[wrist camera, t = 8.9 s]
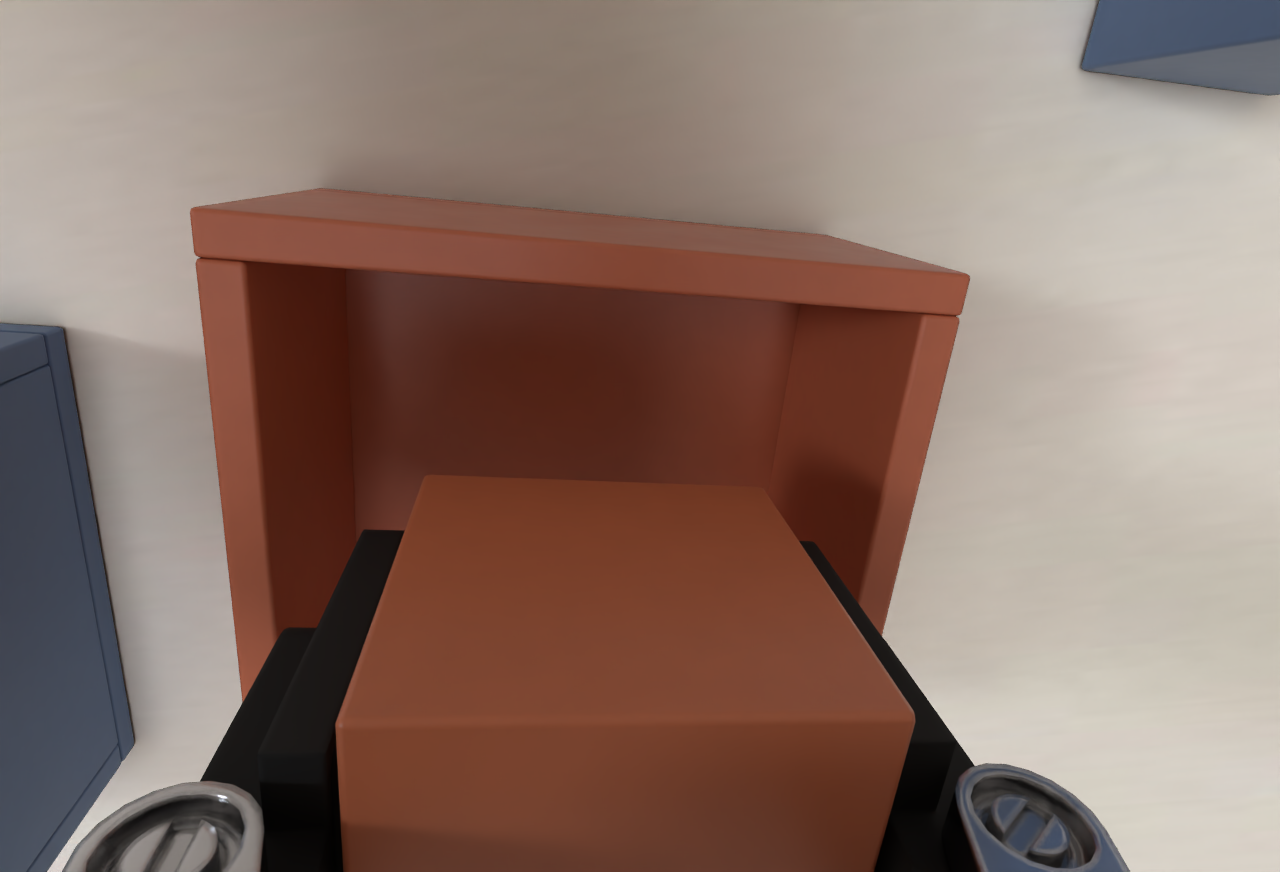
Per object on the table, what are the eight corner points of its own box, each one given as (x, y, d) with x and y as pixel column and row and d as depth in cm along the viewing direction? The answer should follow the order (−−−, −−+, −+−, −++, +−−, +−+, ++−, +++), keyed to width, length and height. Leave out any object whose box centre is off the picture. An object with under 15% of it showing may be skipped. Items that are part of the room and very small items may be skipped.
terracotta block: (424, 472, 9) (332, 722, 5) (763, 484, 10) (922, 715, 6) (424, 751, 11) (353, 1117, 7) (720, 745, 12) (821, 1076, 7)
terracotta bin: (317, 187, 14) (187, 206, 9) (828, 234, 16) (973, 275, 10) (340, 640, 17) (256, 844, 12) (755, 642, 19) (836, 824, 14)
